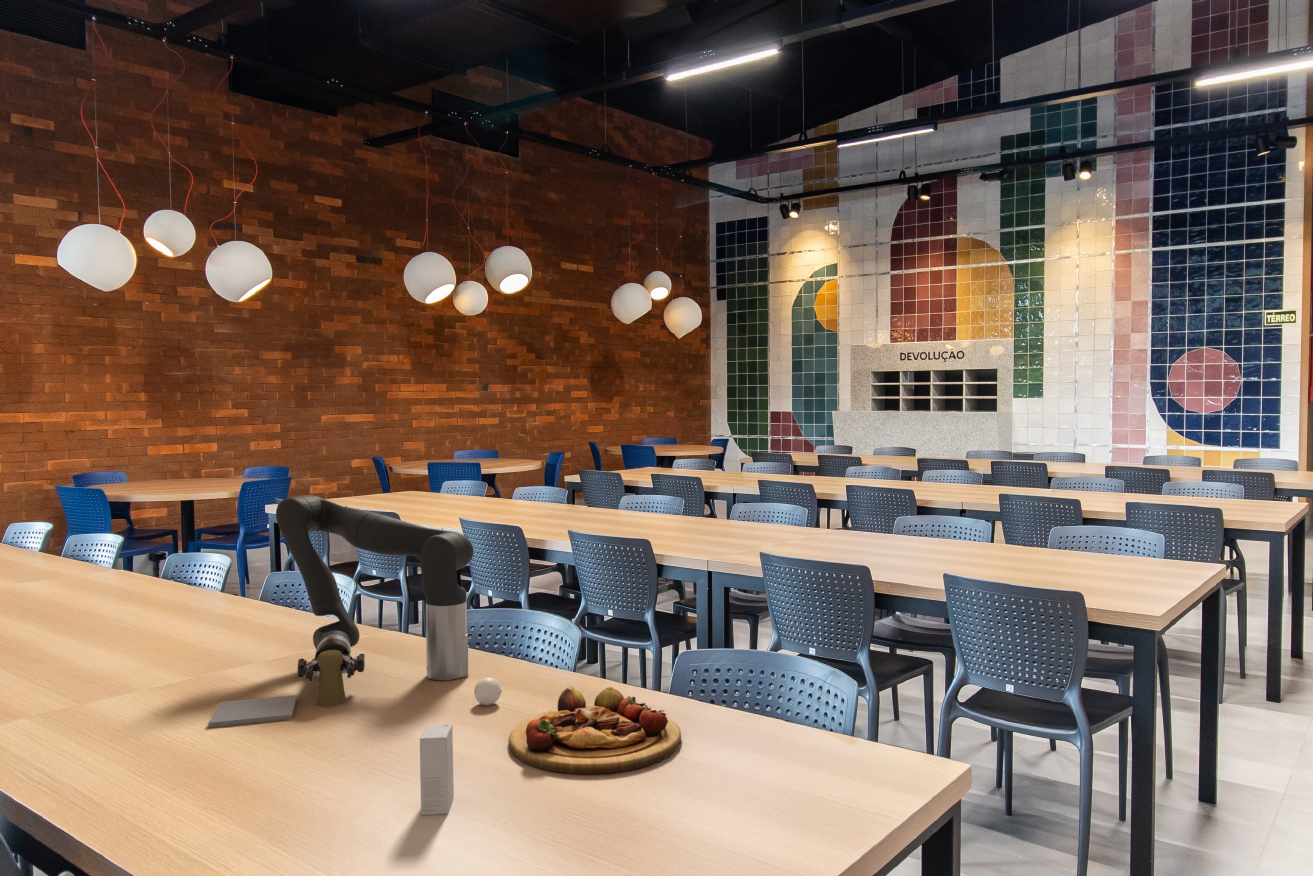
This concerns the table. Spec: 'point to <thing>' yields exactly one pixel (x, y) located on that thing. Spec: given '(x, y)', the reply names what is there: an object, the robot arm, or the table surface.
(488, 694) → the white egg
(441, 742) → the skincare box
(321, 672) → the cork
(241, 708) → the slate tile
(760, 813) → the table surface
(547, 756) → the wooden plate with food
